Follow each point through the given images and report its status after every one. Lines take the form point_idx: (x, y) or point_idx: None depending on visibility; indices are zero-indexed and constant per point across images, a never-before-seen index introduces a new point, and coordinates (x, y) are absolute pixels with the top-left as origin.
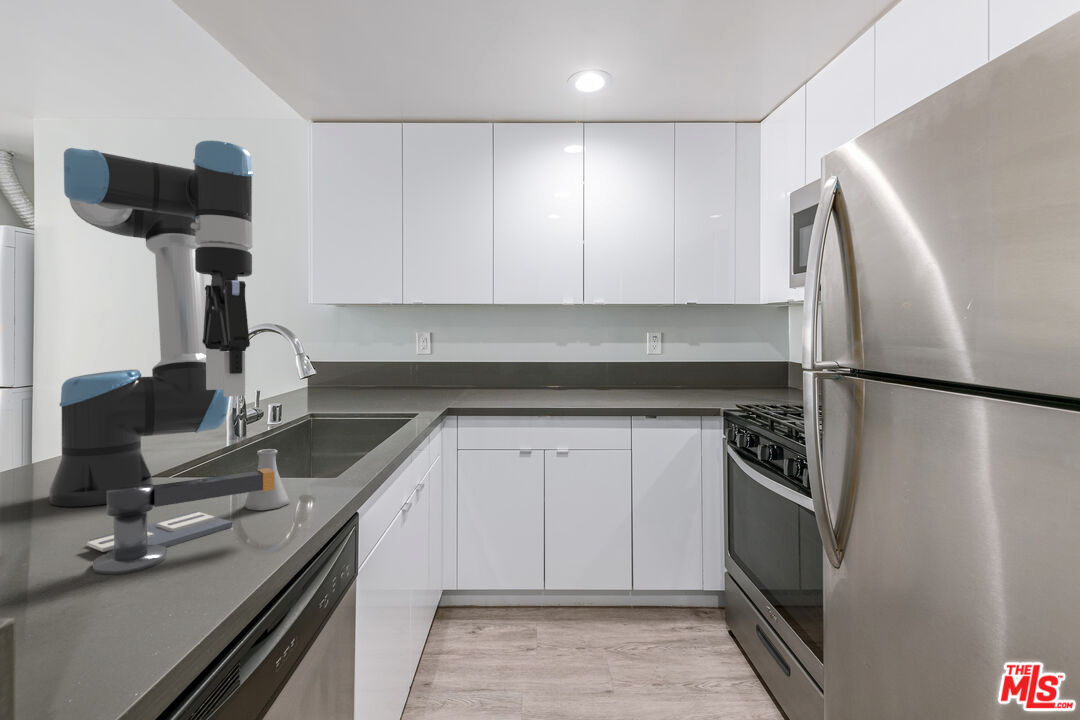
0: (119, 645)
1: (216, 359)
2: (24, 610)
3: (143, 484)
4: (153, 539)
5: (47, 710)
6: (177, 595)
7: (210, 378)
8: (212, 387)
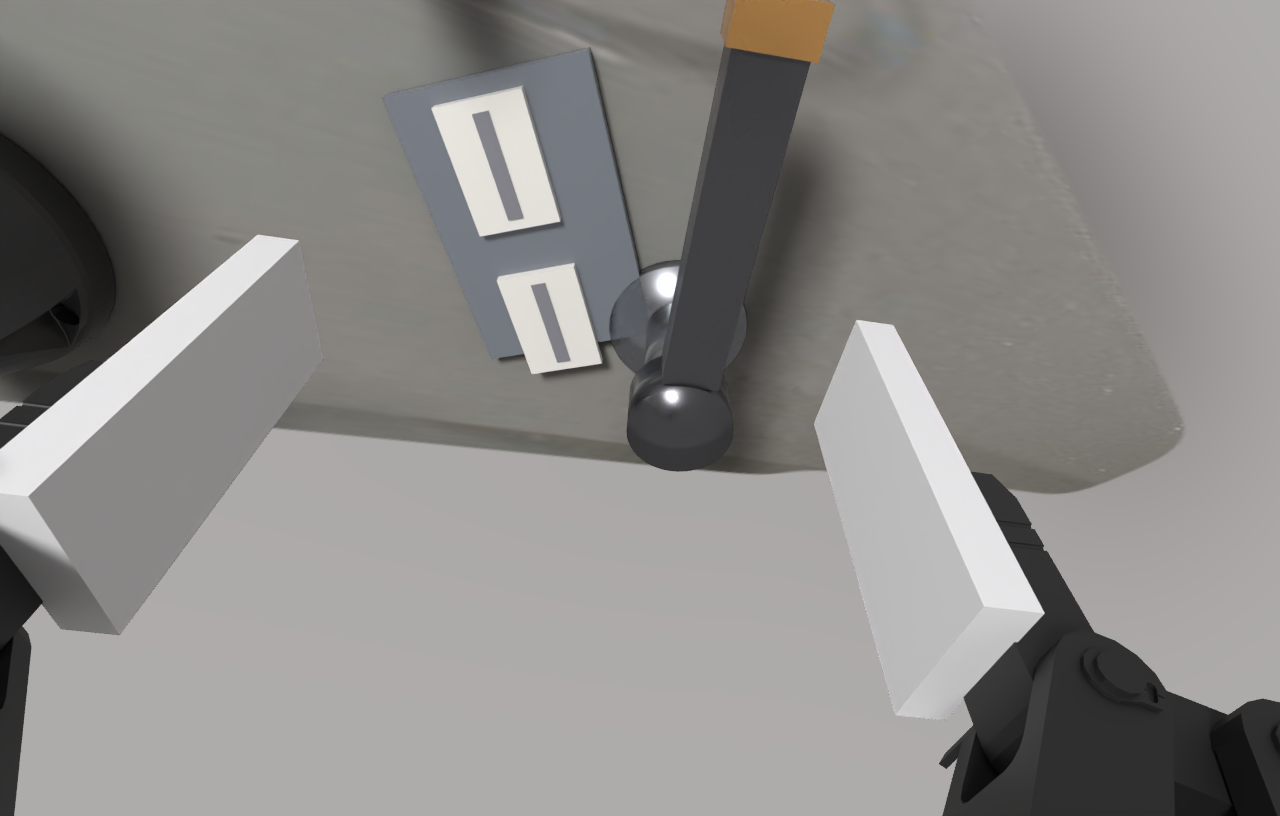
0: (1027, 413)
1: (159, 477)
2: (769, 463)
3: (658, 404)
4: (594, 269)
5: (1095, 485)
6: (941, 313)
7: (278, 394)
8: (307, 338)
